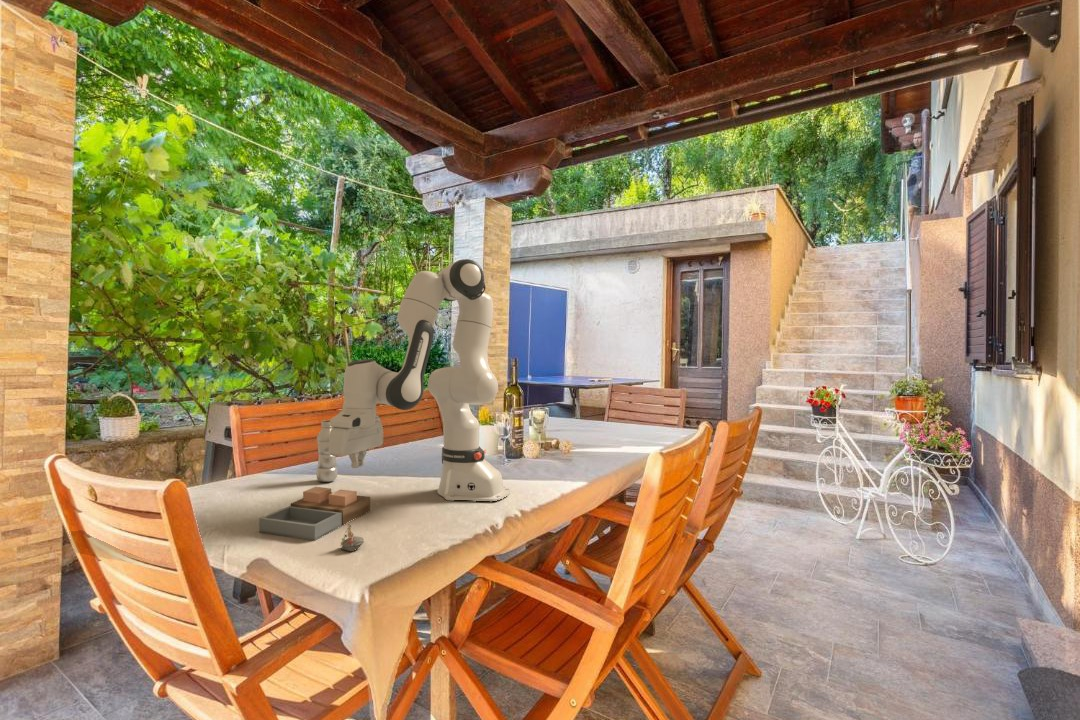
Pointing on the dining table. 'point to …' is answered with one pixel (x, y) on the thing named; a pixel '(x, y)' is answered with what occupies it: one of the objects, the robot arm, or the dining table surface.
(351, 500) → the tile
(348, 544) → the figurine
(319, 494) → the tile
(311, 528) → the box
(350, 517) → the brown wooden platform
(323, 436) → the plastic bottle
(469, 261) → the robot arm
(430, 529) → the dining table surface
